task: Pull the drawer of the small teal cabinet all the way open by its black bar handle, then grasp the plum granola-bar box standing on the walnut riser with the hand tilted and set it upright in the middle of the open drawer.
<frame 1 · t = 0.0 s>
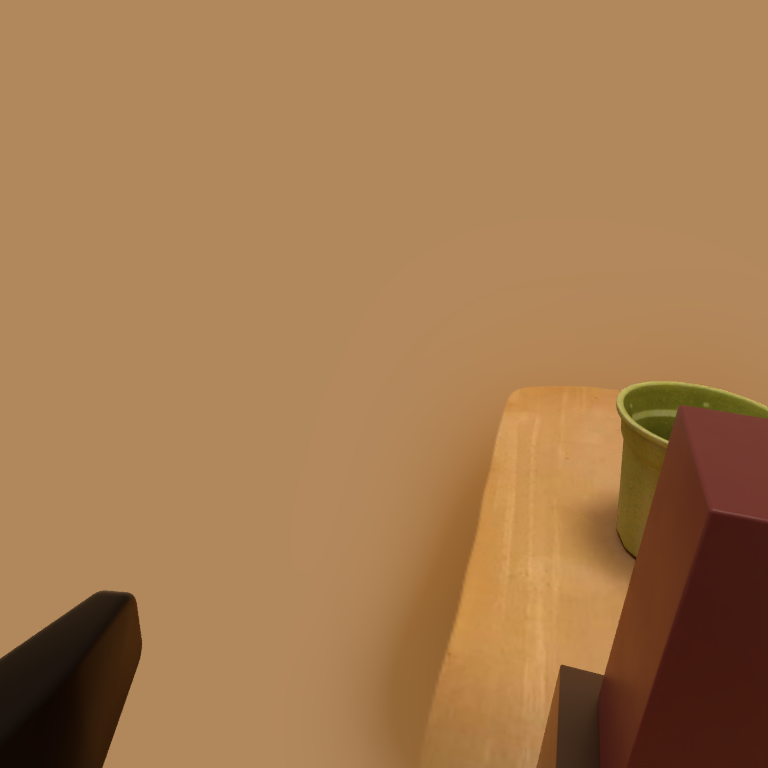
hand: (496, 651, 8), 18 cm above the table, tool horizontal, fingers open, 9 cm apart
plant pot: (668, 546, 39), on the table
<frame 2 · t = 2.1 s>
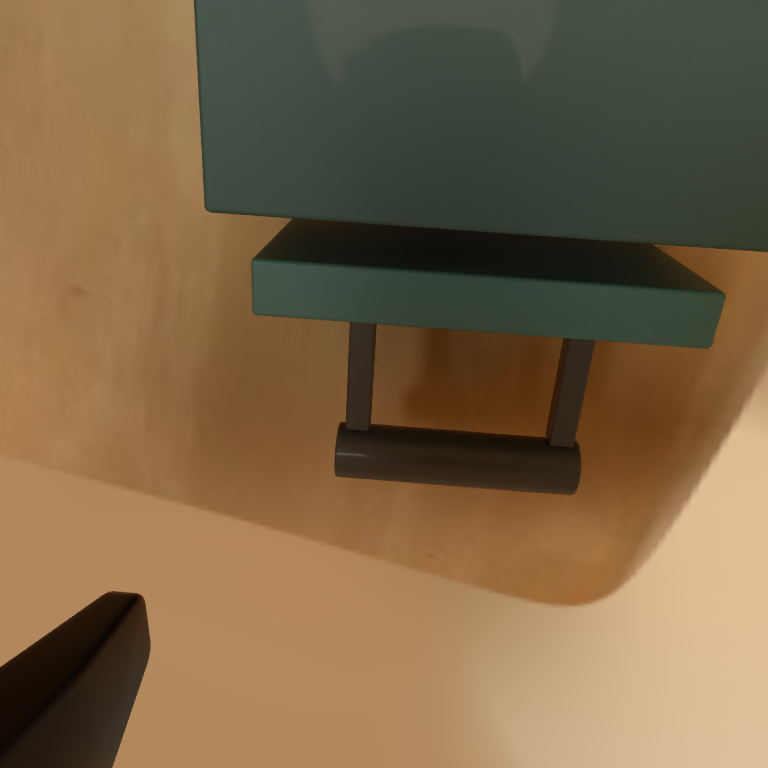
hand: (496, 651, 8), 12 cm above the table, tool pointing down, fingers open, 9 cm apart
drawer: (496, 96, 14), point 3 cm above the table, slide at 1.0 cm
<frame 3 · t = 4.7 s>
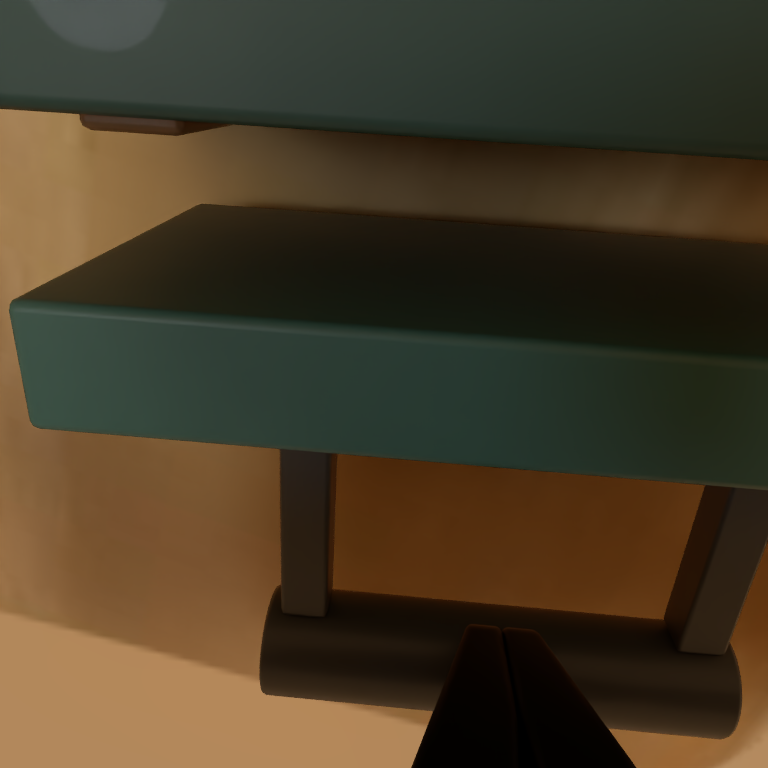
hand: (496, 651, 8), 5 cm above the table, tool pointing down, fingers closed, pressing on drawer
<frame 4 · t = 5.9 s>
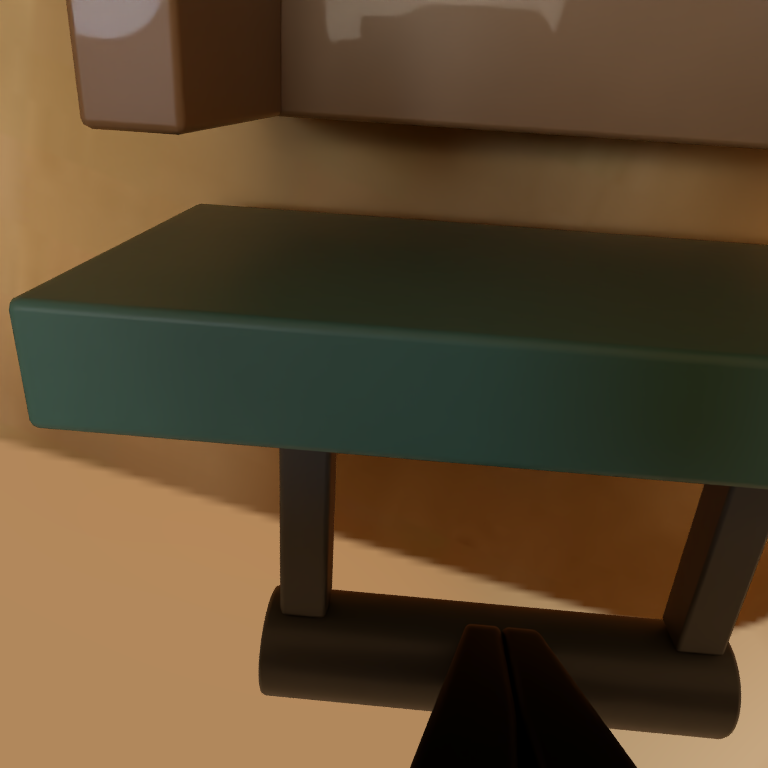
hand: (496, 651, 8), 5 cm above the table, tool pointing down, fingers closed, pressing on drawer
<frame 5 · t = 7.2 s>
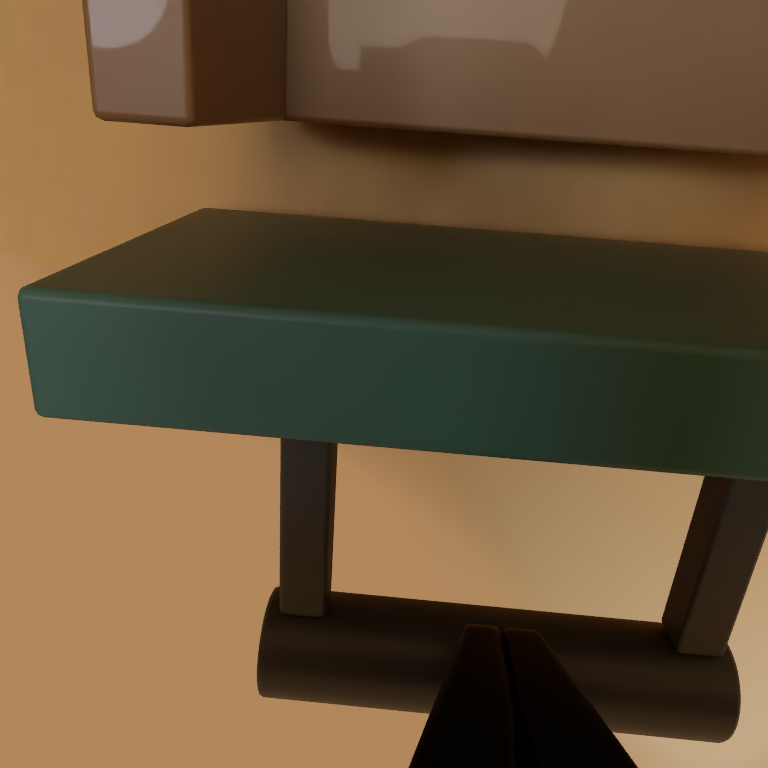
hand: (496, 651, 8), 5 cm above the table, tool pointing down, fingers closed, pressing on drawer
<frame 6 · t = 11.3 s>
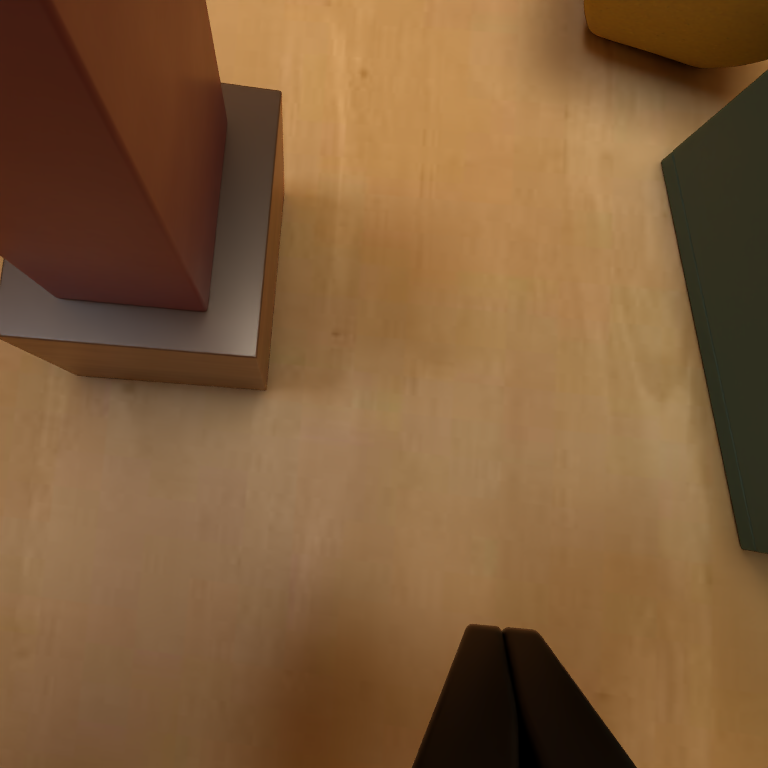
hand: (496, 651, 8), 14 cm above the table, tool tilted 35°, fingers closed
granola box: (144, 205, 16), point 6 cm above the table, touching riser
riser: (184, 279, 22), on the table
flower pot: (649, 3, 26), on the table
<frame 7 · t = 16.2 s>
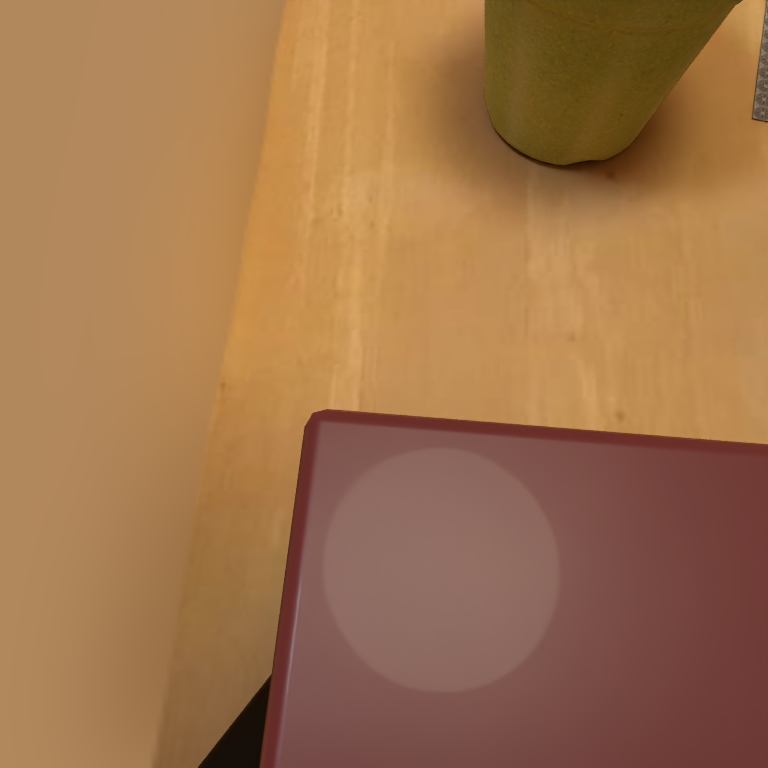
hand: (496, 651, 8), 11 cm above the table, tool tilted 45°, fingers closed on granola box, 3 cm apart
granola box: (451, 718, 12), point 6 cm above the table, touching gripper, riser
plant pot: (562, 106, 25), on the table
when the fingers open (7 cm above the table, at t = 26.1 s): granola box stays where it is, resting on drawer.
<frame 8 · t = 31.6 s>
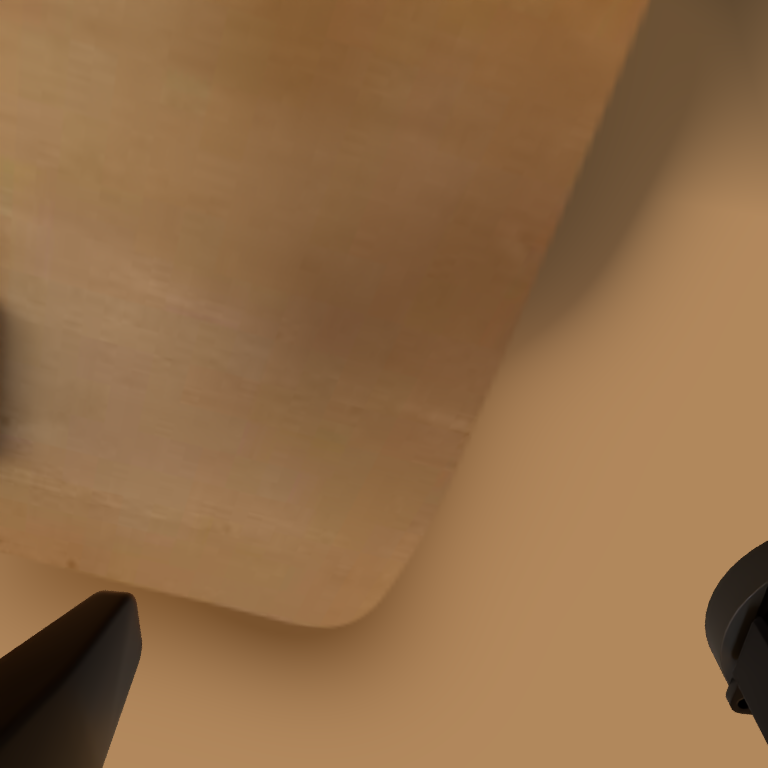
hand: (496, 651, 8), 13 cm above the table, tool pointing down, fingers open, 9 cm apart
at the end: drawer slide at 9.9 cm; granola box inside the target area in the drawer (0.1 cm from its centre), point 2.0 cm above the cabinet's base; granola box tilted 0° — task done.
